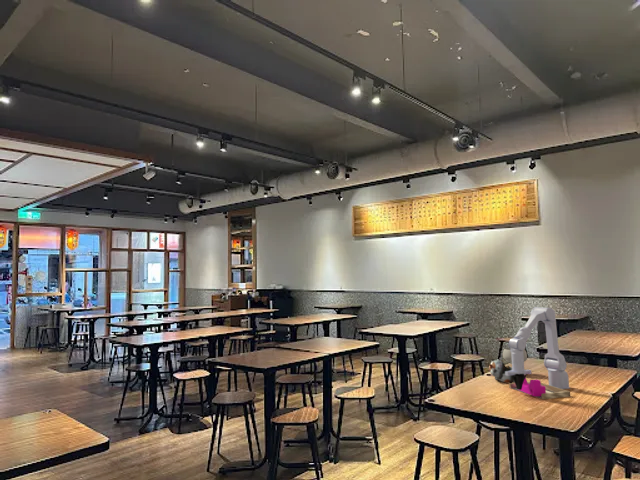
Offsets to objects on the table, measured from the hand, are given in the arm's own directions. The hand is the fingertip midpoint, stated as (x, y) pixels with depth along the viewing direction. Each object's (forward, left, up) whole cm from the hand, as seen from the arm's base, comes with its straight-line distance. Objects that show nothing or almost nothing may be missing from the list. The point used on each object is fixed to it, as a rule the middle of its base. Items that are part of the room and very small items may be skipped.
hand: (519, 389), depth 228 cm
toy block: (-7, 0, -2) cm, 8 cm away
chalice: (-31, -40, -3) cm, 51 cm away
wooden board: (-12, 0, -2) cm, 12 cm away
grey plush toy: (-12, -27, -3) cm, 29 cm away
